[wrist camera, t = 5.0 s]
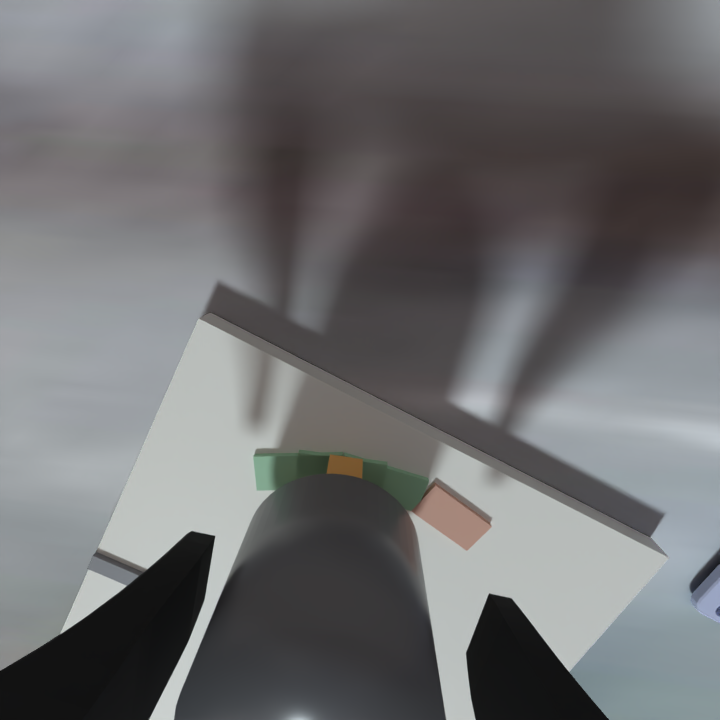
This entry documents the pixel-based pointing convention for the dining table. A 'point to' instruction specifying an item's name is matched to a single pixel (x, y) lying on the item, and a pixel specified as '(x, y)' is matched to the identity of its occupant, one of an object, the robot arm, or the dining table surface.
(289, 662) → the dial knob
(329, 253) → the dining table surface
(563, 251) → the dining table surface
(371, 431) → the dial plate
